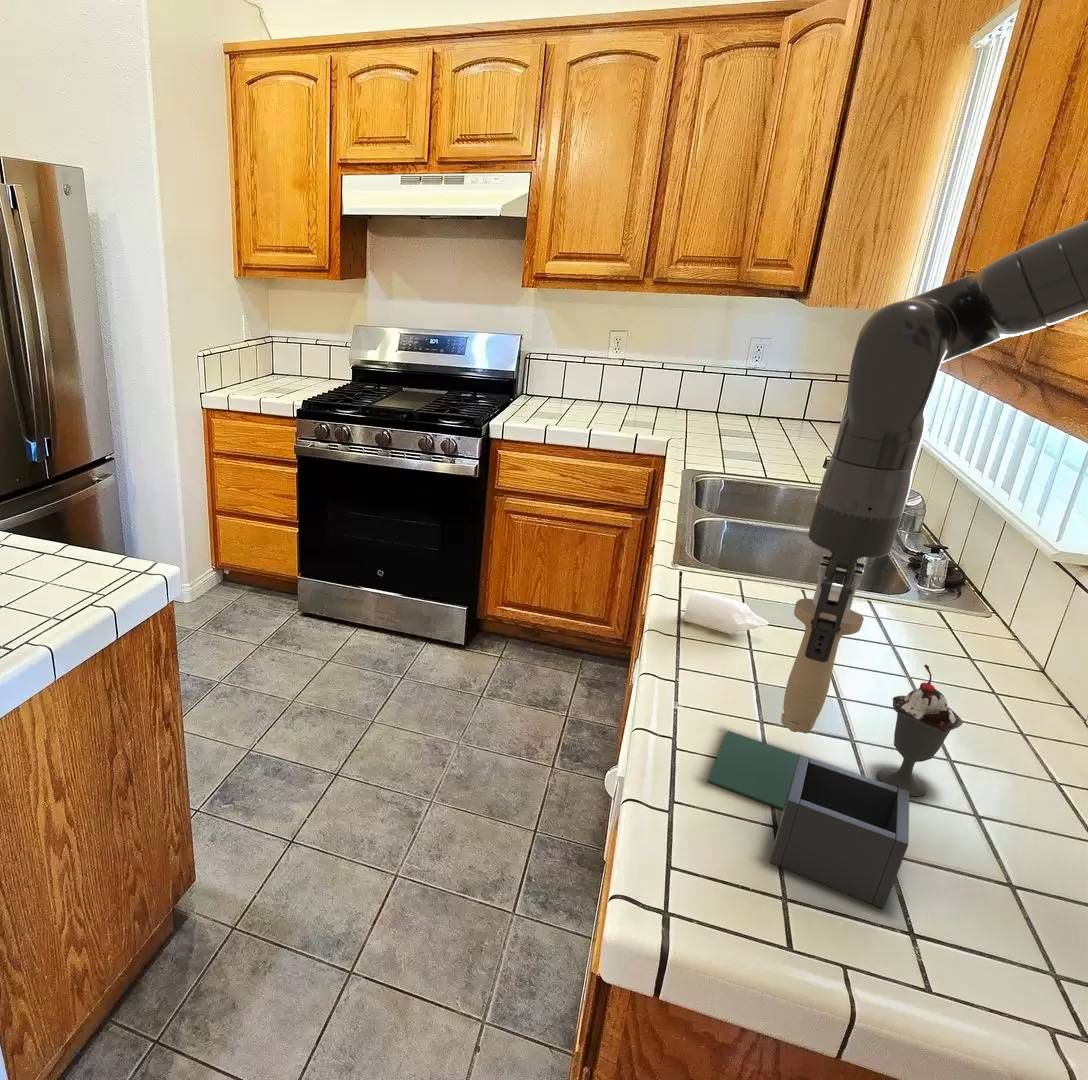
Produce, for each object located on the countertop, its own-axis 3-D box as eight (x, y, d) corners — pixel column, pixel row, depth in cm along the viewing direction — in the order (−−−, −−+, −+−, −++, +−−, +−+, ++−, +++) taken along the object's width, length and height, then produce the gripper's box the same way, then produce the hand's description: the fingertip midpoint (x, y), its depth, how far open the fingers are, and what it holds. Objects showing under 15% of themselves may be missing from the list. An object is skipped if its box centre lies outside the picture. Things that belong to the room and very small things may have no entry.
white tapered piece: (758, 650, 119) (766, 618, 117) (681, 626, 126) (687, 595, 124) (767, 636, 123) (775, 605, 121) (692, 613, 130) (699, 584, 128)
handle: (820, 748, 83) (856, 628, 78) (759, 723, 88) (790, 607, 82) (832, 730, 87) (868, 614, 81) (773, 706, 91) (803, 594, 85)
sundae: (881, 757, 94) (917, 652, 89) (943, 787, 89) (986, 678, 84) (858, 777, 91) (894, 669, 85) (922, 809, 86) (964, 697, 80)
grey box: (887, 852, 79) (909, 791, 76) (884, 909, 72) (908, 844, 69) (781, 812, 84) (799, 753, 81) (769, 862, 77) (787, 800, 75)
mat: (851, 774, 91) (852, 772, 91) (843, 833, 82) (844, 831, 82) (727, 732, 98) (727, 730, 98) (707, 781, 89) (707, 779, 89)
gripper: (902, 531, 70) (853, 688, 76) (904, 493, 81) (861, 633, 87) (810, 513, 73) (771, 664, 80) (824, 480, 85) (789, 615, 91)
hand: (818, 647), depth 83 cm, fingers closed on handle, 5 cm apart
